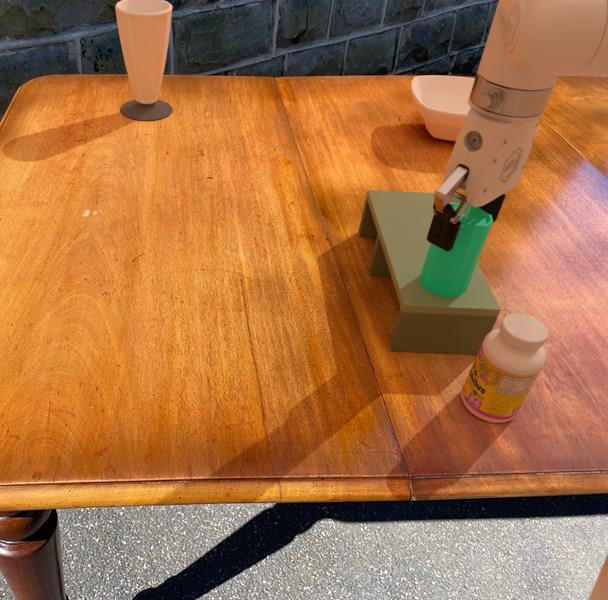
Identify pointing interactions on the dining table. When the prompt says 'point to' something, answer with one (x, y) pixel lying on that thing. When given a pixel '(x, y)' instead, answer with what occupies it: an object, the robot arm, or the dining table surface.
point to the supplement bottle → (505, 368)
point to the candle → (457, 255)
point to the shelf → (406, 278)
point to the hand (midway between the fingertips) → (461, 231)
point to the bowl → (442, 103)
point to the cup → (144, 54)
